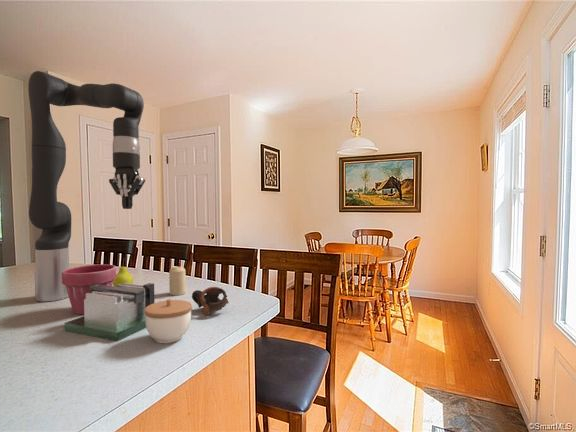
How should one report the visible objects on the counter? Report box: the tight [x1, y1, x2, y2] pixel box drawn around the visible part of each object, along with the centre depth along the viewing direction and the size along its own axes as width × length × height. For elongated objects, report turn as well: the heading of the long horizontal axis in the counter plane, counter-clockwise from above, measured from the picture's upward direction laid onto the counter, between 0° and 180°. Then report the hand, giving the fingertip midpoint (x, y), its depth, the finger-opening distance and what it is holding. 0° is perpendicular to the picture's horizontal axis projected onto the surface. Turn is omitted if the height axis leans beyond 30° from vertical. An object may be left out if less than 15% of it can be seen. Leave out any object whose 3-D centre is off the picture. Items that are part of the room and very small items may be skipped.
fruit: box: [112, 257, 134, 287], centre depth 119 cm, size 7×7×12 cm
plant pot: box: [62, 263, 117, 315], centre depth 97 cm, size 14×14×13 cm
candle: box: [168, 265, 187, 296], centre depth 115 cm, size 6×6×10 cm
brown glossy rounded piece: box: [191, 286, 230, 317], centre depth 96 cm, size 12×10×8 cm
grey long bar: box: [90, 284, 144, 304], centre depth 85 cm, size 16×3×3 cm, turn 69°
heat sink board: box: [64, 282, 155, 342], centre depth 85 cm, size 18×16×11 cm
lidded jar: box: [145, 298, 193, 344], centre depth 77 cm, size 11×11×9 cm
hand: (127, 208), depth 99 cm, fingers closed
